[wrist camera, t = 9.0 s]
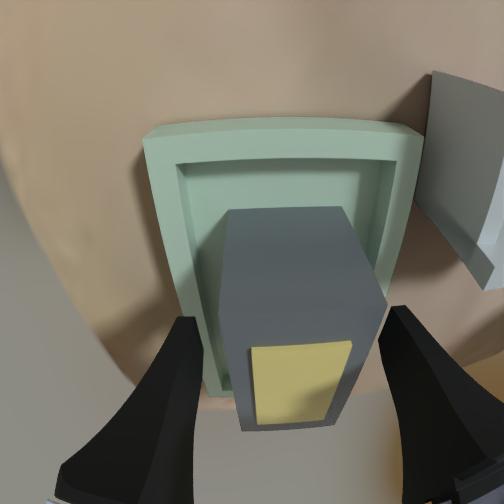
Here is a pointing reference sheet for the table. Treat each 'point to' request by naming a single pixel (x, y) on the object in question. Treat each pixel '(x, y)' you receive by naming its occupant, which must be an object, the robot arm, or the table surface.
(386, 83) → the table surface
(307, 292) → the grey block yellow label
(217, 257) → the tray
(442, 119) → the bay
